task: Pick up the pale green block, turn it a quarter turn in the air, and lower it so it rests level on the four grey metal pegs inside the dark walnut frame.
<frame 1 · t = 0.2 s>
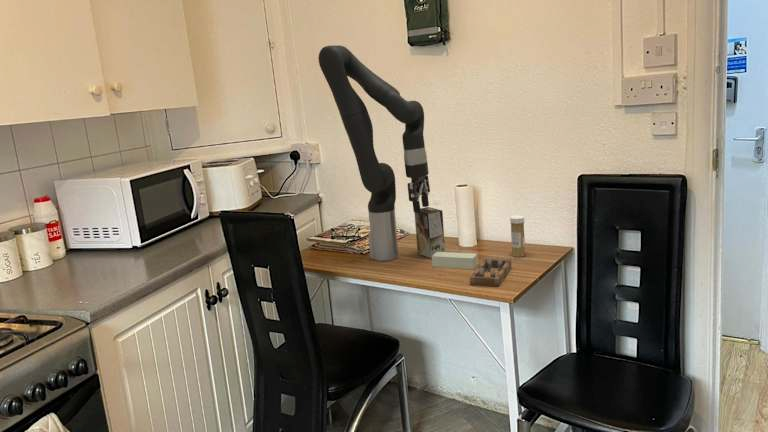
hand: (421, 209, 209), 18 cm above the table, tool pointing down, fingers open, 8 cm apart
pale green block: (455, 266, 204), on the table
coffee box: (431, 254, 218), on the table
sprinkles bottle: (518, 255, 209), on the table
peg frame: (491, 275, 191), on the table
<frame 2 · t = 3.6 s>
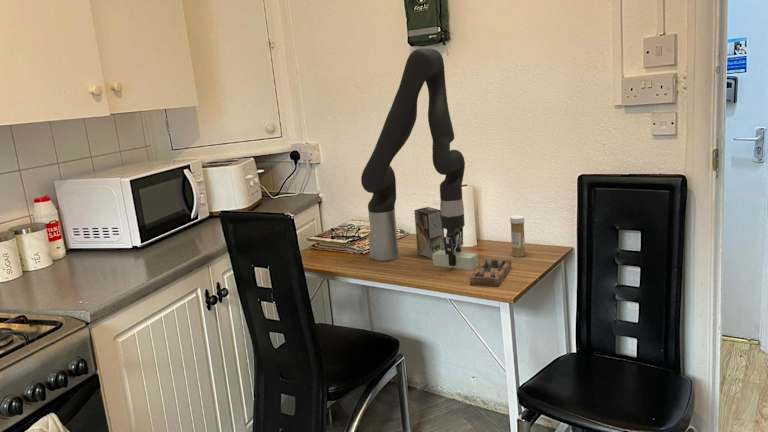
hand: (455, 262, 203), 1 cm above the table, tool pointing down, fingers closed on pale green block, 5 cm apart
pale green block: (455, 265, 204), on the table, touching gripper
everything else where it was.
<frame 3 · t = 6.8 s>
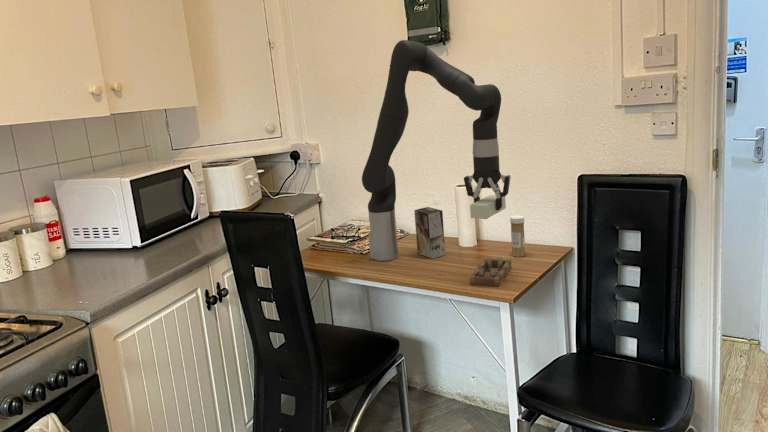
hand: (488, 209, 186), 21 cm above the table, tool pointing down, fingers closed on pale green block, 5 cm apart
pale green block: (488, 213, 187), point 20 cm above the table, touching gripper
everything else where it was.
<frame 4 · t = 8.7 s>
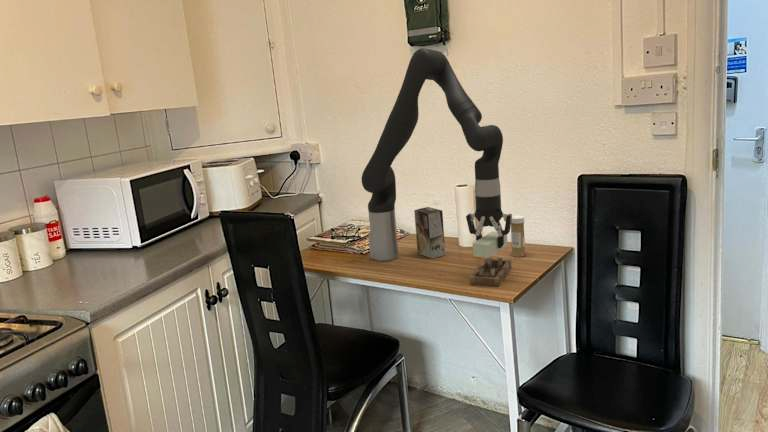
hand: (490, 247, 189), 9 cm above the table, tool pointing down, fingers closed on pale green block, 5 cm apart
pale green block: (490, 250, 189), point 8 cm above the table, touching gripper
everything else where it was.
when the fingers open (6 cm above the table, at t = 10.3 s): pale green block drops 1 cm, resting on peg frame.
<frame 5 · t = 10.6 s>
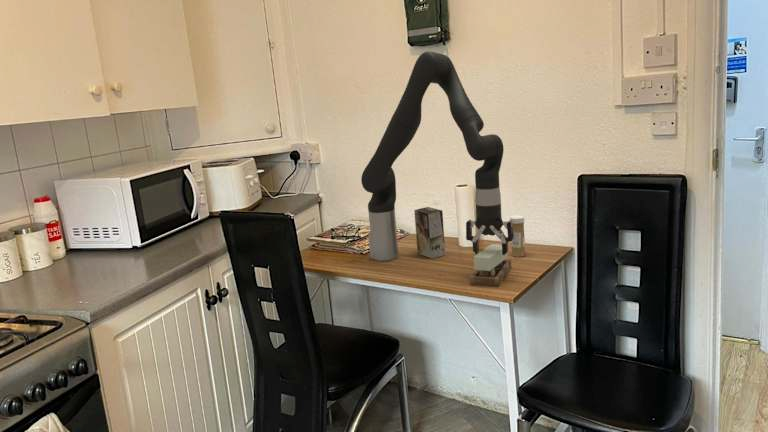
hand: (490, 253, 189), 7 cm above the table, tool pointing down, fingers open, 8 cm apart
pale green block: (490, 263, 190), point 4 cm above the table, touching peg frame
everything else where it was.
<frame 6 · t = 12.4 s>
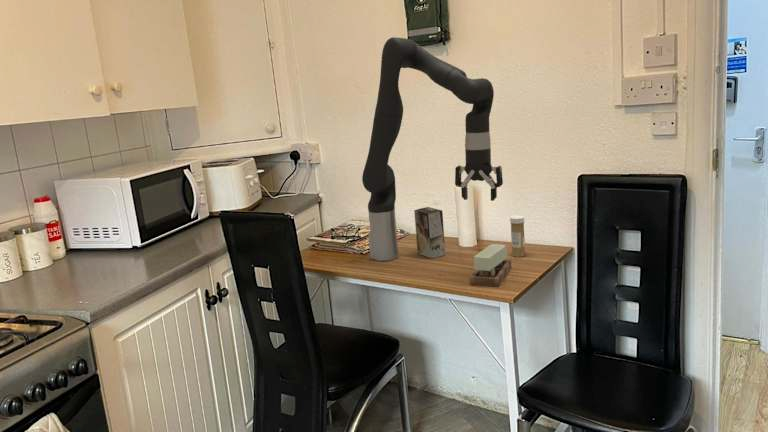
hand: (479, 199, 189), 23 cm above the table, tool pointing down, fingers open, 8 cm apart
nothing on the table moved.
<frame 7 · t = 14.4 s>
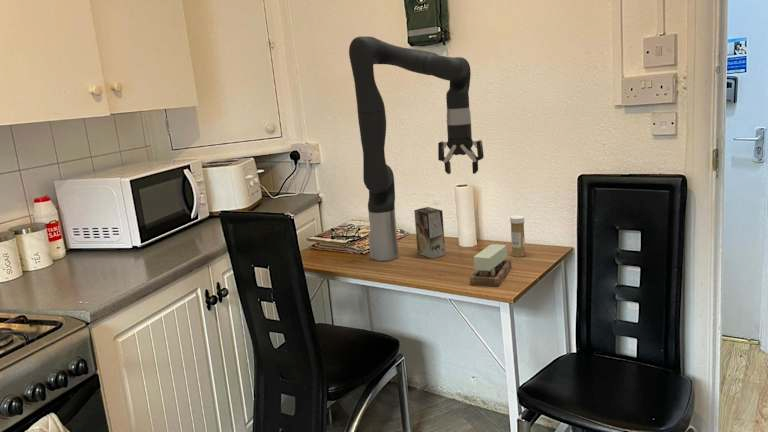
hand: (461, 173, 198), 30 cm above the table, tool pointing down, fingers open, 8 cm apart
nothing on the table moved.
at the end: pale green block 0.1 cm off-centre on the peg frame, point 4.0 cm above the peg frame's base; pale green block tilted 0°; the gripper is holding nothing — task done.
